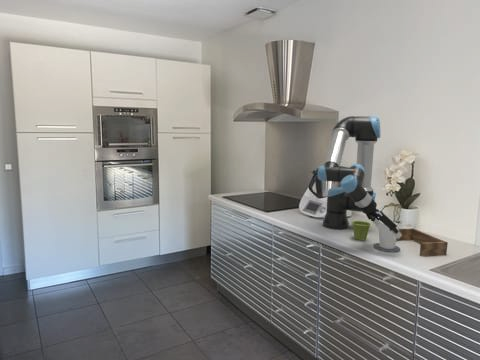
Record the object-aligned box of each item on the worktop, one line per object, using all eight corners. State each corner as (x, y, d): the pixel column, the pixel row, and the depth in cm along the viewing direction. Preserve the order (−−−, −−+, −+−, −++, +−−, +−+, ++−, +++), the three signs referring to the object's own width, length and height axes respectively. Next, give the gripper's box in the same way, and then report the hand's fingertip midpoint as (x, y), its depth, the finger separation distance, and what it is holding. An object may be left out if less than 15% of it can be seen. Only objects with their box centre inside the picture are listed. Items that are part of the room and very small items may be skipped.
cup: (398, 251, 166) (400, 226, 164) (377, 248, 168) (379, 224, 167) (395, 245, 174) (397, 221, 173) (376, 243, 177) (378, 220, 175)
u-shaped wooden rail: (420, 256, 162) (422, 243, 161) (389, 240, 185) (390, 229, 184) (446, 254, 164) (447, 242, 164) (411, 239, 188) (412, 228, 187)
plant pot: (370, 238, 188) (371, 222, 187) (368, 243, 179) (369, 226, 178) (352, 235, 192) (353, 220, 191) (349, 240, 183) (350, 223, 182)
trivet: (373, 243, 179) (373, 242, 179) (398, 246, 175) (398, 245, 175) (374, 250, 168) (374, 249, 168) (401, 253, 164) (401, 252, 164)
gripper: (346, 202, 178) (371, 231, 183) (375, 214, 153) (402, 246, 158) (357, 192, 178) (381, 220, 183) (386, 202, 154) (413, 234, 159)
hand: (390, 232), depth 171 cm, fingers open, 13 cm apart
